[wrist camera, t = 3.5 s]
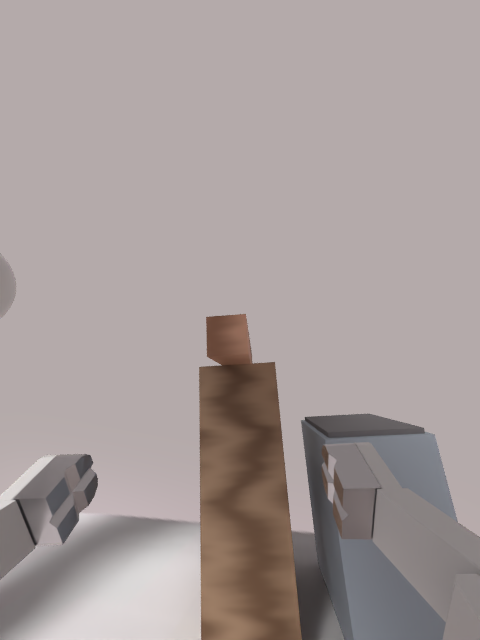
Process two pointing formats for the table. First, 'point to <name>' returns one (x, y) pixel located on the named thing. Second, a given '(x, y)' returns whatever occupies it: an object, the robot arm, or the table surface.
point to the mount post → (244, 508)
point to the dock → (362, 554)
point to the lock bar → (228, 340)
